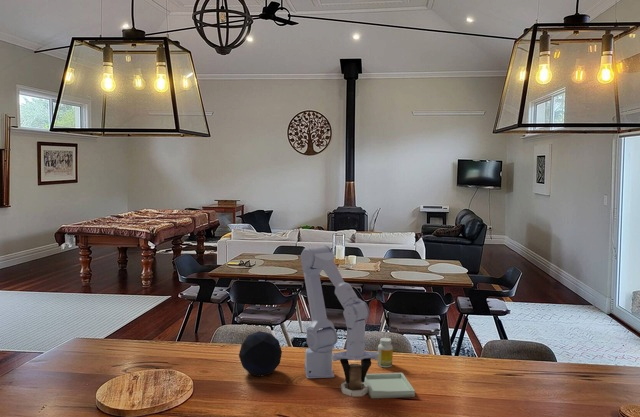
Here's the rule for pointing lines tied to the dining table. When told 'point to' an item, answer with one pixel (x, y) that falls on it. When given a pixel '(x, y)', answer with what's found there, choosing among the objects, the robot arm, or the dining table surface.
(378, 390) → the tray
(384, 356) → the supplement bottle
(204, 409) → the dining table surface
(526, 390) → the dining table surface
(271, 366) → the decorative orb
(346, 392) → the holder ring
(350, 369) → the walnut canister
